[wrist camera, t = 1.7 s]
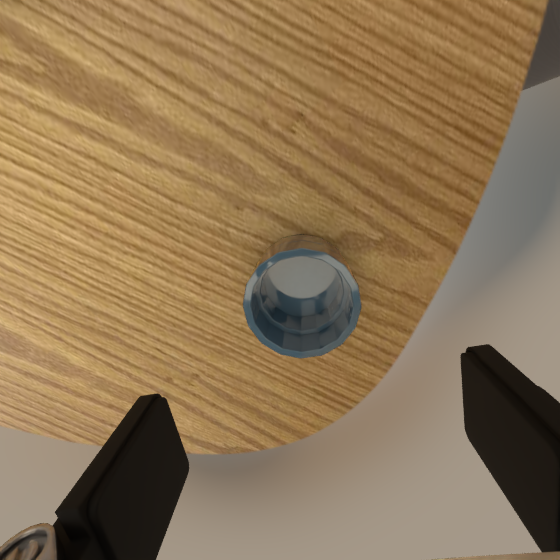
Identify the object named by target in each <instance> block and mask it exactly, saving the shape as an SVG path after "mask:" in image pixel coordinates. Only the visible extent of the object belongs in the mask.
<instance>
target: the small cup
mask: <svg viewBox="0 0 560 560" xmlns="http://www.w3.org/2000/svg"><path fill="white" fill-rule="evenodd" d="M243 308H244V312H245V316H246V320H247V323H248V326H249V328H250V329H251V330H252V332H253V333H254V334H255V335H256V337H257V338H258V339H259V341H260V342H261V343H262V344H264V345H266V346H267V347H269V348H270V349H272V350H274V351H275V352H277V353H279V354H281V355H286V356H291V357H296V358H307V357H314V356H320V355H324V354H326V353H327V352H329V351H331V350H333V349H335V348H336V347H338V346H340V345H341V344H343V342H344V341H345V340H346V339H347V338H348V336H349V335H350V334H351V333H352V331H353V330H354V329H355V327H356V324H357V321H358V317H359V314H360V310H361V300H360V293H359V287H358V284H357V282H356V280H355V278H354V276H353V274H352V272H351V270H350V268H349V266H348V264H347V262H346V261H345V259H344V258H343V256H342V255H341V253H340V251H339V250H338V249H337V248H336V247H334V246H333V245H331V244H330V243H328V242H327V241H325V240H324V239H322V238H320V237H315V236H309V235H304V234H299V235H294V236H289V237H284V238H282V239H280V240H279V241H277V242H276V243H274V244H273V245H271V246H270V247H268V248H267V249H266V250H265V252H264V253H263V255H262V256H261V258H260V260H259V261H258V263H257V264H256V266H255V268H254V270H253V272H252V274H251V276H250V278H249V280H248V282H247V284H246V288H245V294H244V300H243Z"/></svg>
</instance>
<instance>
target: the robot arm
mask: <svg viewBox="0 0 560 560" xmlns="http://www.w3.org/2000/svg"><path fill="white" fill-rule="evenodd" d="M461 373H462V389H463V407H464V423H465V431H466V434H467V437H468V439H469V441H470V442H471V444H472V445H473V447H474V448H475V450H476V451H477V453H478V455H479V456H480V458H481V459H482V460H483V462H484V464H485V465H486V467H487V468H488V470H489V471H490V473H491V474H492V476H493V478H494V479H495V481H496V482H497V484H498V485H499V487H500V488H501V490H502V491H503V493H504V495H505V496H506V498H507V499H508V501H509V502H510V504H511V505H512V507H513V508H514V510H515V511H516V513H517V515H518V516H519V518H520V519H521V521H522V522H523V524H524V525H525V527H526V528H527V530H528V531H529V533H530V535H531V536H532V537H533V539H534V541H535V542H536V544H537V545H538V547H539V548H540V550H541V551H542V553H524V554H507V555H489V556H473V557H459V558H446V559H434V560H560V403H559V402H558V401H557V400H556V399H554V398H553V397H552V396H551V395H550V394H549V393H547V392H546V391H545V390H544V389H542V388H541V387H539V386H537V385H535V384H534V383H533V382H532V381H531V380H530V379H529V378H527V377H526V376H525V375H524V374H523V373H522V372H520V371H519V370H518V369H517V368H516V367H515V366H514V365H512V364H511V363H510V362H509V361H508V360H507V359H506V358H504V357H503V356H502V355H501V354H500V353H499V352H498V351H496V350H495V349H494V348H493V347H492V346H490V345H487V344H486V345H480V346H474V347H468V348H467V349H466V353H462V354H461ZM188 472H189V462H188V459H187V456H186V453H185V450H184V447H183V444H182V442H181V439H180V436H179V433H178V430H177V427H176V425H175V422H174V419H173V416H172V413H171V411H170V408H169V405H168V402H167V400H166V398H164V397H161V395H160V394H151V395H144V396H140V397H139V398H138V399H137V401H136V402H135V403H134V405H133V406H132V408H131V409H130V410H129V412H128V413H127V414H126V416H125V417H124V418H123V420H122V421H121V423H120V424H119V425H118V427H117V428H116V429H115V431H114V432H113V434H112V435H111V436H110V438H109V439H108V440H107V442H106V443H105V444H104V446H103V447H102V449H101V450H100V451H99V453H98V454H97V455H96V457H95V458H94V460H93V461H92V462H91V464H90V465H89V466H88V468H87V469H86V470H85V472H84V473H83V475H82V476H81V477H80V479H79V480H78V481H77V483H76V484H75V486H74V487H73V488H72V490H71V491H70V492H69V494H68V495H67V496H66V498H65V499H64V500H63V502H62V503H61V505H60V506H59V507H58V509H57V510H56V511H55V513H56V515H57V517H58V519H57V520H56V522H55V523H54V525H53V526H52V525H50V524H48V523H40V524H37V525H33V526H30V527H28V528H26V529H25V530H23V531H21V532H19V533H18V534H16V535H15V536H14V537H12V538H10V539H9V540H8V541H7V542H5V543H4V544H3V545H2V546H1V547H0V560H156V558H157V555H158V552H159V550H160V547H161V544H162V542H163V539H164V536H165V534H166V531H167V528H168V526H169V523H170V520H171V518H172V515H173V512H174V510H175V507H176V505H177V502H178V499H179V496H180V493H181V491H182V489H183V486H184V483H185V480H186V478H187V475H188Z"/></svg>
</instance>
